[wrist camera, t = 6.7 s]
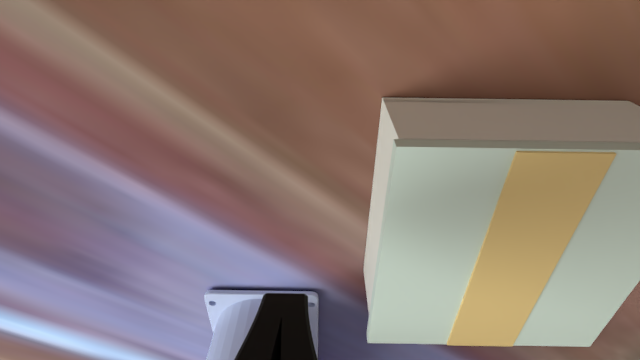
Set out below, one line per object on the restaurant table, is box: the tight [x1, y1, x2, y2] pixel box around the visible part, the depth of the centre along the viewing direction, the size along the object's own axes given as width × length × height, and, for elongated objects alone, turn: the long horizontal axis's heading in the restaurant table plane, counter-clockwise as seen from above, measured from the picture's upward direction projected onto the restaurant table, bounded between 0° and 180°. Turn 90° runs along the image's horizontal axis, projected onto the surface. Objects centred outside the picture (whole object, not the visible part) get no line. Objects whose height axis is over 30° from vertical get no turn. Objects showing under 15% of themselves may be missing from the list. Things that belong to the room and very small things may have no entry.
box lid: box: [367, 139, 640, 347], centre depth 16 cm, size 12×12×1 cm
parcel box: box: [363, 97, 640, 312], centre depth 19 cm, size 12×12×4 cm
